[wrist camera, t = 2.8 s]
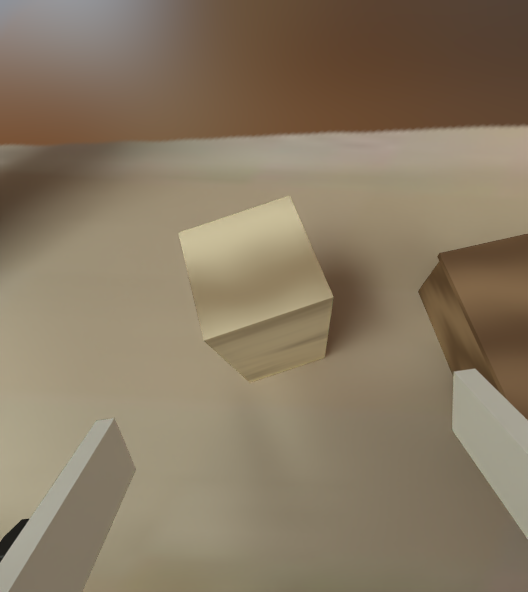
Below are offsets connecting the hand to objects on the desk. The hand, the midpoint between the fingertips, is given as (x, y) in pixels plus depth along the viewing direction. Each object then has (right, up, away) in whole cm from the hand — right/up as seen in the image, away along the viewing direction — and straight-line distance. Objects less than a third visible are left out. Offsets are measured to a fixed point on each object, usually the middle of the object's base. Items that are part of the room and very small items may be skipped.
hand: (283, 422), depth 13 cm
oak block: (0, +2, +14) cm, 14 cm away
